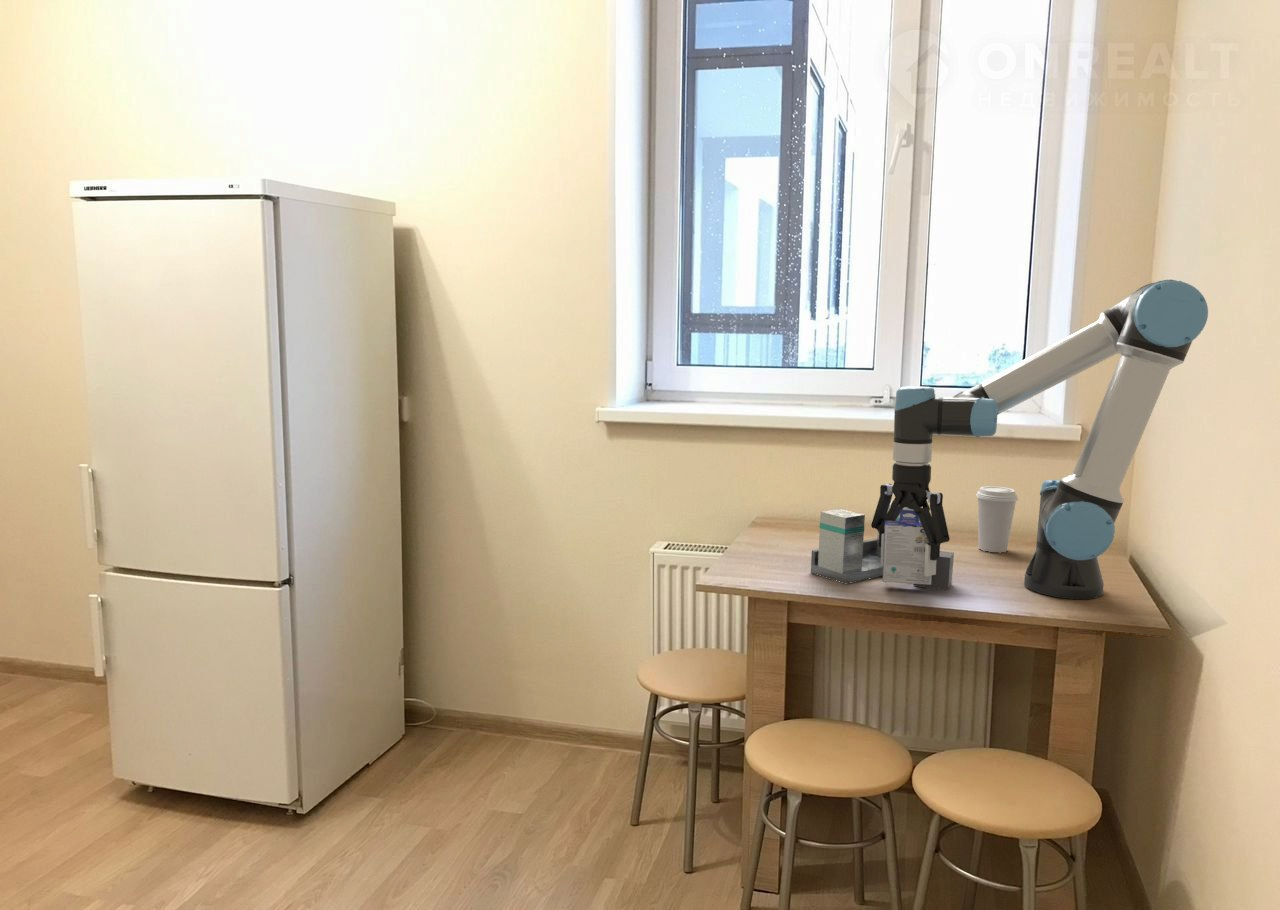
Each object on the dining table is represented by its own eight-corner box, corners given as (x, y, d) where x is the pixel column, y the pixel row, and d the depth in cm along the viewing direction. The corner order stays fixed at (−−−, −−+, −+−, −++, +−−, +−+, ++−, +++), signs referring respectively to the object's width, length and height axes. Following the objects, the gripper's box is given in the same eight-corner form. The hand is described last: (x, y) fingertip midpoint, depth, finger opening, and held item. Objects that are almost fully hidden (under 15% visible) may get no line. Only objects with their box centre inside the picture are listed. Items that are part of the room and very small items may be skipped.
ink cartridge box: (931, 578, 197) (934, 510, 195) (932, 586, 192) (936, 515, 190) (882, 575, 200) (884, 508, 197) (882, 582, 194) (885, 513, 192)
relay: (947, 590, 196) (950, 557, 195) (913, 585, 199) (915, 553, 198) (951, 584, 201) (953, 552, 200) (917, 580, 204) (919, 548, 203)
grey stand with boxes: (921, 567, 214) (925, 506, 212) (845, 584, 199) (849, 518, 197) (886, 557, 222) (889, 498, 219) (810, 572, 207) (813, 510, 205)
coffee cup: (984, 555, 226) (989, 493, 223) (964, 545, 235) (969, 485, 233) (1021, 554, 227) (1026, 492, 225) (1000, 544, 236) (1005, 485, 234)
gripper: (972, 468, 185) (966, 578, 188) (879, 454, 204) (875, 555, 207) (948, 472, 181) (943, 584, 184) (855, 457, 199) (852, 560, 202)
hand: (907, 569), depth 195 cm, fingers closed on ink cartridge box, 10 cm apart
